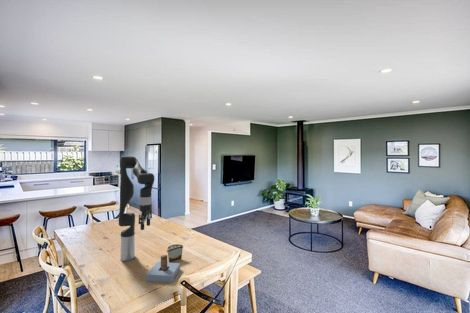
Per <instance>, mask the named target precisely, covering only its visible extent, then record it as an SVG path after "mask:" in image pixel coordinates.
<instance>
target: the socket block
mask: <svg viewBox="0 0 470 313" xmlns="http://www.w3.org/2000/svg"><path fill="white" fill-rule="evenodd" d="M180 270H181V262H180V263H179V262H171V263H169V262H167V271H161V261H156V263H154V265H153V266H152V267H151V268H150V270H148V272H147V273H146V274H145V280H146V282H156V283H157V282H159V283H160V282H161V283H173V281H174V279H175V278H176V277H177V275H178V273H179V271H180Z"/></svg>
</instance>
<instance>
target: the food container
mask: <svg viewBox="0 0 470 313" xmlns="http://www.w3.org/2000/svg"><path fill="white" fill-rule="evenodd" d="M183 249H184V245H183V244H177V243H176V244H171V245H169V246H168V247H167V248H166V252H167V260H168V263H176V262H177V261H180V260H182V257H183V256H182V255H183Z"/></svg>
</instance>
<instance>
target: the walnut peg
mask: <svg viewBox="0 0 470 313" xmlns="http://www.w3.org/2000/svg"><path fill="white" fill-rule="evenodd" d="M160 262H161V271H167V263H168V254H162V255H160Z"/></svg>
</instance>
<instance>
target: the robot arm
mask: <svg viewBox="0 0 470 313" xmlns="http://www.w3.org/2000/svg"><path fill="white" fill-rule="evenodd" d="M119 159H120V160H119V170H120V171H119V172H120V181H119V182H120V183H119V211H118V225H119V227H127V228H125V229H124V230H123V229H122V231H121V232H120V261H122V262H128V261H131V260H133V259H135V250H136V249H135V246H136V245H135V244H136V243H135V240H136V238H135V235H136V234H135V232H136V231H135V226H136V225H135V224H136V214H135V212H125V210H126V207H127V206H128V204H129V203H130V202H131V200H132V198H133V197H134V188H135V186H134V184H133V181H132V180H131V179H130V177H129V176H128V172H127V169H130V170H131V169H132V173H133V175H134V176H135V177H136V180H137V183H138V184H139V185H146V186H144V187H141V188H140V189H139V211H140V212H141V214H138V225H140V230H141V231H144V230H145V222H146V226H147V227H150V226H151V219H152V218H153V210H152V208H153V207H152V205H153V204H152V203H153V202H152V201H153V199H152V191H153V186H154V183H155V175H154V173H150V172H147V171H146V170H145V169H144V168H143V167H142V166H141V164H140V162H139V161H138V160H139V159H137V158H136V157H135V156H131V155H122V156H121V157H120V158H119Z"/></svg>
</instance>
